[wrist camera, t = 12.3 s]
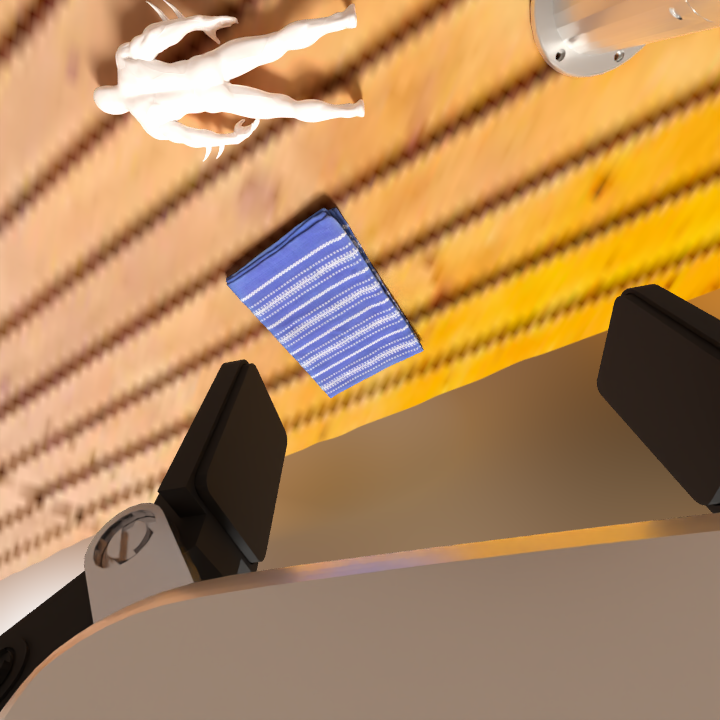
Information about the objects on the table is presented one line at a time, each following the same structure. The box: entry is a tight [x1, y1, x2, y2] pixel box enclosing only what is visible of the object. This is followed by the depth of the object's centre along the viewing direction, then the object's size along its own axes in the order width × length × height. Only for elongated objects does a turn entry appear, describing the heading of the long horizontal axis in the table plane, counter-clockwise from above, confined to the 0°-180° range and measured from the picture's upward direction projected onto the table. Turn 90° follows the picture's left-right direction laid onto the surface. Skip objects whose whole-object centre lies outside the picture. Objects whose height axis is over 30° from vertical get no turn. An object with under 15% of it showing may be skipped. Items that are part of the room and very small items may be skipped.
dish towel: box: [226, 207, 423, 398], centre depth 48 cm, size 17×24×3 cm
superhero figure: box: [94, 0, 365, 161], centre depth 33 cm, size 12×6×25 cm
